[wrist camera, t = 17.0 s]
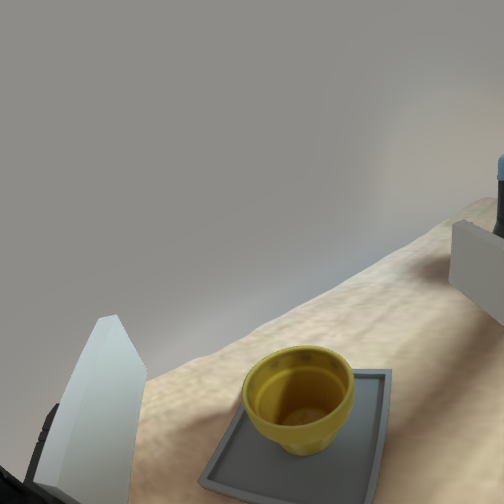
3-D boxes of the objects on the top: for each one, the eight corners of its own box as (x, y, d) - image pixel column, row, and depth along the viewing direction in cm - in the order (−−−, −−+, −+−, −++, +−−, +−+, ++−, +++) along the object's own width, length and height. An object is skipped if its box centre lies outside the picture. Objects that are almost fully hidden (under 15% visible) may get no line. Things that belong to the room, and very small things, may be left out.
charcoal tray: (265, 370, 41) (262, 362, 40) (390, 378, 33) (392, 369, 33) (202, 487, 25) (196, 482, 24) (366, 521, 17) (368, 518, 16)
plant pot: (299, 488, 22) (286, 451, 18) (245, 431, 31) (221, 381, 27) (371, 428, 27) (377, 375, 23) (311, 386, 35) (303, 330, 31)
